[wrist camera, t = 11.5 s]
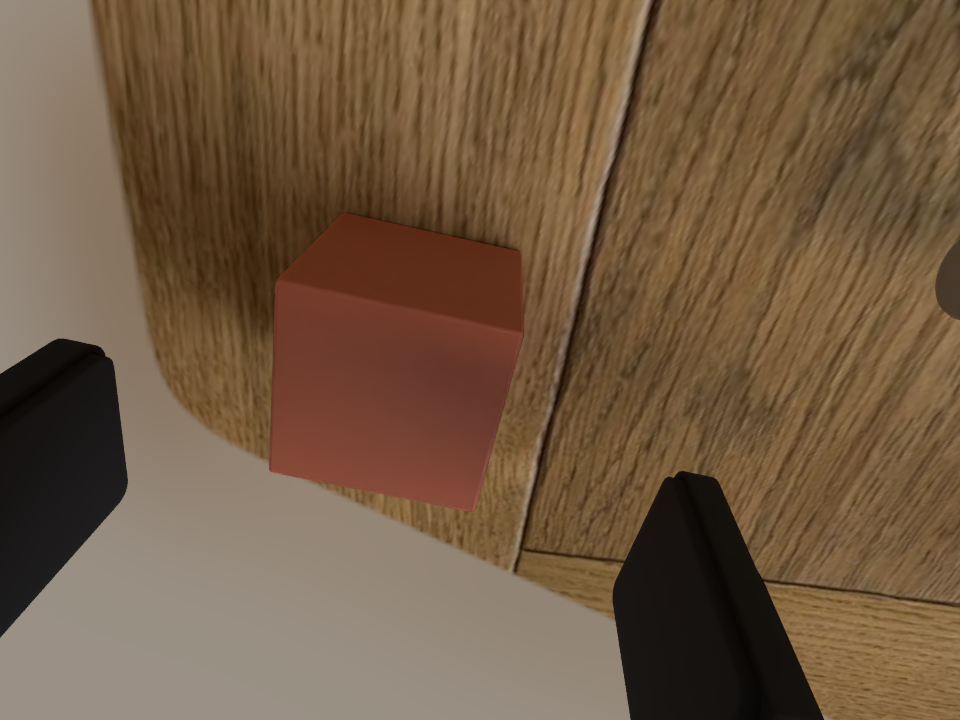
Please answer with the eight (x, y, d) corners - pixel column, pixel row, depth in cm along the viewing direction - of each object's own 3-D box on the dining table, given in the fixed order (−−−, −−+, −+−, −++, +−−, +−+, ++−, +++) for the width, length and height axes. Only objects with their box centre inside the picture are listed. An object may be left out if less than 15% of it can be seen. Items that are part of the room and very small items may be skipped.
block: (328, 367, 16) (267, 473, 12) (342, 210, 14) (273, 278, 10) (484, 399, 16) (474, 514, 12) (523, 250, 14) (525, 333, 10)
